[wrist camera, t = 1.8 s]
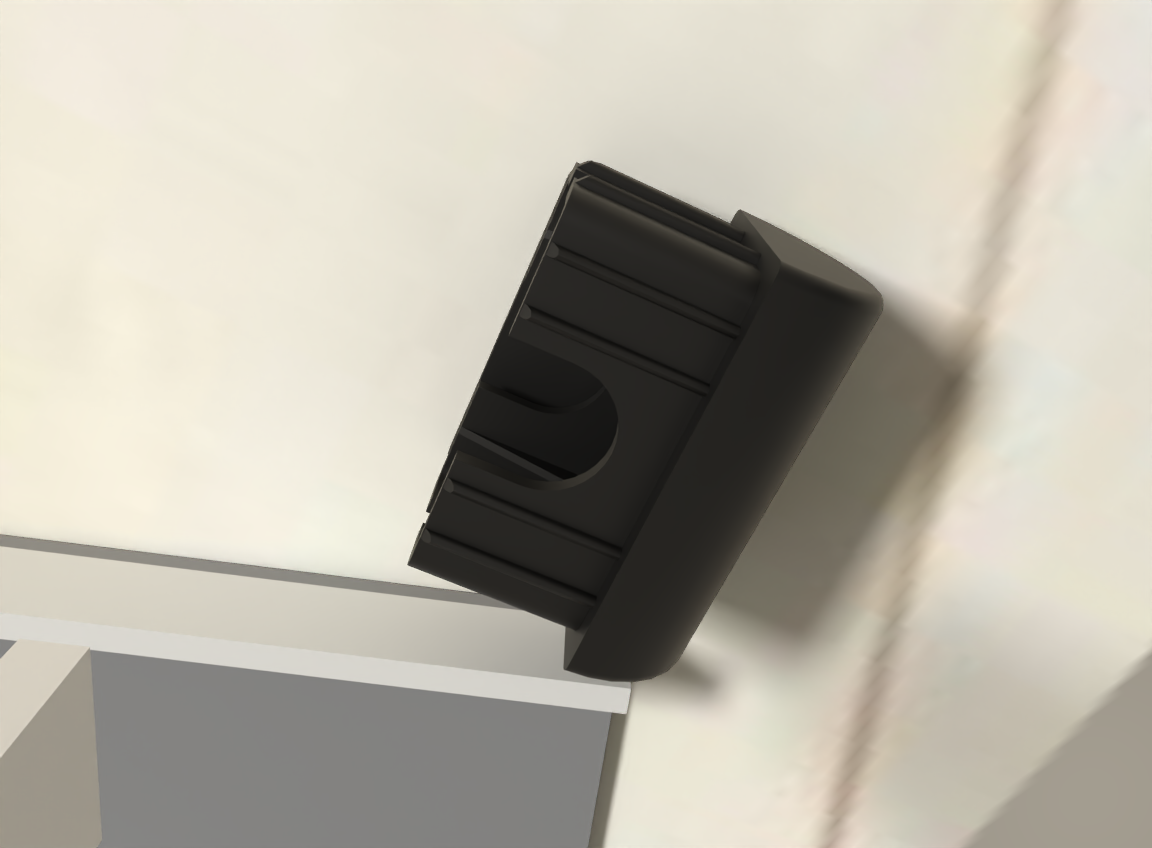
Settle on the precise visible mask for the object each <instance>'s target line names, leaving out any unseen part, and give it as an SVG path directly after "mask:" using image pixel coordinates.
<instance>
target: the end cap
mask: <svg viewBox="0 0 1152 848" xmlns="http://www.w3.org/2000/svg"><path fill="white" fill-rule="evenodd" d="M882 310H883V298H882V295H881V294H880V293H879V291H878V290H877V289H876V288H875V287H874V286H873V285H872V284H871V283H869V282H868V281H867V280H866V279H864V278H863V277H861V276H860V275H858V274H857V273H856V272H854V271H853V270H851V269H850V268H848V267H846V266H845V265H843V264H842V263H840V262H838V261H837V260H835V259H834V258H832V257H830V256H828V255H827V254H825V253H823V252H822V251H820V250H818V249H816V248H815V247H813V246H811V245H809V244H807V243H805V242H804V241H802V240H800V239H798V238H796V237H794V236H792V235H791V234H789V233H787V232H785V231H783V230H781V229H779V228H777V227H775V226H773V225H771V224H769V223H767V222H765V221H763V220H761V219H759V218H757V217H755V216H753V215H751V214H749V213H746V212H744V211H742V210H738V211H737V213H736V214H735V216H734V218H733V219H732V221H731V223H728V222H726V221H724V220H722V219H719V218H717V217H715V216H713V215H711V214H709V213H707V212H704V211H702V210H700V209H698V208H696V207H694V206H691V205H689V204H687V203H685V202H683V201H681V200H679V199H676V198H674V197H672V196H670V195H668V194H666V193H663V192H661V191H659V190H657V189H655V188H653V187H651V186H648V185H646V184H644V183H642V182H640V181H638V180H635V179H633V178H631V177H629V176H627V175H625V174H623V173H620V172H618V171H616V170H614V169H612V168H610V167H607V166H605V165H603V164H601V163H597V162H593V161H586V162H584V163H581V164H579V163H577V162H576V164H575V166H574V168H573V170H572V171H571V172H570V174H569V175H568V177H567V180H566V182H565V184H564V186H563V189H562V191H561V193H560V196H559V198H558V200H557V203H556V205H555V207H554V209H553V212H552V214H551V216H550V219H549V221H548V223H547V225H546V228H545V230H544V232H543V235H542V237H541V239H540V242H539V244H538V246H537V248H536V251H535V253H534V255H533V258H532V260H531V262H530V265H529V267H528V269H527V271H526V274H525V276H524V278H523V281H522V283H521V285H520V287H519V290H518V292H517V294H516V297H515V299H514V301H513V304H512V306H511V308H510V310H509V313H508V315H507V317H506V320H505V322H504V324H503V327H502V329H501V331H500V333H499V336H498V338H497V340H496V343H495V345H494V347H493V349H492V352H491V354H490V356H489V359H488V361H487V363H486V366H485V368H484V370H483V372H482V375H481V377H480V379H479V382H478V384H477V386H476V388H475V391H474V393H473V395H472V398H471V400H470V402H469V405H468V407H467V409H466V411H465V414H464V416H463V418H462V421H461V423H460V425H459V428H458V430H457V432H456V434H455V437H454V439H453V441H452V444H451V446H450V449H449V452H448V456H447V459H446V461H445V463H444V465H443V468H442V470H441V473H440V475H439V477H438V480H437V482H436V485H435V488H434V490H433V493H432V496H431V499H430V501H429V504H428V507H427V510H426V512H428V513H430V514H429V516H428V519H427V521H426V523H423V524H422V527H421V529H420V531H419V533H418V536H417V538H416V541H415V544H414V547H413V550H412V552H411V555H410V558H409V561H408V564H407V565H409V566H411V567H414V568H416V569H419V570H421V571H424V572H427V573H429V574H432V575H434V576H437V577H439V578H442V579H444V580H447V581H450V582H452V583H455V584H457V585H460V586H462V587H465V588H467V589H470V590H473V591H475V592H478V593H480V594H483V595H485V596H488V597H490V598H493V599H496V600H498V601H501V602H503V603H506V604H508V605H511V606H513V607H516V608H519V609H521V610H524V611H526V612H529V613H531V614H534V615H536V616H539V617H542V618H544V619H547V620H549V621H552V622H554V623H557V624H559V625H562V626H565V646H564V665H563V668H564V670H566V671H569V672H572V673H575V674H578V675H582V676H585V677H588V678H593V679H599V680H604V681H610V682H636V681H642V680H648V679H652V678H654V677H656V676H658V675H660V674H662V673H665V672H667V671H668V670H669V669H670V668H671V667H672V666H673V665H674V664H675V663H676V662H677V661H678V660H679V658H680V657H681V655H682V653H683V651H684V650H685V648H686V646H687V645H688V643H689V641H690V639H691V638H692V636H693V634H694V633H695V631H696V629H697V627H698V626H699V624H700V622H701V621H702V619H703V617H704V615H705V614H706V612H707V610H708V609H709V607H710V605H711V603H712V602H713V600H714V598H715V597H716V595H717V593H718V592H719V590H720V588H721V586H722V585H723V583H724V581H725V580H726V578H727V576H728V574H729V573H730V571H731V569H732V568H733V566H734V564H735V562H736V561H737V559H738V557H739V556H740V554H741V552H742V550H743V549H744V547H745V545H746V544H747V542H748V540H749V539H750V537H751V535H752V533H753V532H754V530H755V528H756V527H757V525H758V523H759V521H760V520H761V518H762V516H763V515H764V513H765V511H766V509H767V508H768V506H769V504H770V503H771V501H772V499H773V497H774V496H775V494H776V492H777V491H778V489H779V487H780V485H781V484H782V482H783V480H784V479H785V477H786V475H787V474H788V472H789V470H790V468H791V467H792V465H793V463H794V462H795V460H796V458H797V456H798V455H799V453H800V451H801V450H802V448H803V446H804V444H805V443H806V441H807V439H808V438H809V436H810V434H811V432H812V431H813V429H814V427H815V426H816V424H817V422H818V421H819V419H820V417H821V415H822V414H823V412H824V410H825V409H826V407H827V405H828V403H829V402H830V400H831V398H832V397H833V395H834V393H835V391H836V390H837V388H838V386H839V385H840V383H841V381H842V379H843V378H844V376H845V374H846V373H847V371H848V369H849V367H850V366H851V364H852V362H853V361H854V359H855V357H856V356H857V354H858V352H859V350H860V349H861V347H862V345H863V344H864V342H865V340H866V338H867V337H868V335H869V333H870V332H871V330H872V328H873V326H874V325H875V323H876V321H877V320H878V318H879V316H880V314H881V313H882Z"/></svg>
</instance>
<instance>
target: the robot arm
mask: <svg viewBox="0 0 1152 848" xmlns="http://www.w3.org/2000/svg"><path fill="white" fill-rule="evenodd" d="M101 840H102V830H101V814H100V798H99V782H98V766H97V750H96V734H95V718H94V703H93V687H92V671H91V655H90V647H86V646H77V645H69V644H60V643H51V642H43V641H34V640H26V639H18V640H17V642H16V643H15V644H14V645H13V646H12V647H11V648H10V649H9V650H8V651H7V652H6V653H5V654H4V655H3V657H2V658H1V659H0V848H97V847H98V845H99V844H100V842H101Z"/></svg>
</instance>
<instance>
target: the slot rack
mask: <svg viewBox="0 0 1152 848" xmlns="http://www.w3.org/2000/svg"><path fill="white" fill-rule="evenodd" d="M18 639H26V640H34V641H43V642H51V643H60V644H69V645H77V646H86V647H90V655H91V671H92V687H93V703H94V718H95V734H96V750H97V766H98V782H99V798H100V814H101V830H102V840H101V842H100V844H99V845H98V847H97V848H588V844H589V838H590V833H591V827H592V821H593V816H594V810H595V805H596V799H597V793H598V788H599V782H600V776H601V771H602V765H603V760H604V754H605V748H606V743H607V737H608V731H609V726H610V720H611V714H612V712H613V713H621V714H627V709H628V703H629V698H630V692H631V682H610V681H604V680H599V679H593V678H588V677H585V676H582V675H578V674H575V673H572V672H569V671H566V670H564V668H563V665H564V646H565V626H562V625H559V624H557V623H554V622H552V621H549V620H547V619H544V618H542V617H539V616H536V615H534V614H531V613H529V612H526V611H524V610H521V609H519V608H516V607H513V606H511V605H508V604H506V603H503V602H501V601H498V600H496V599H493V598H490V597H488V596H485V595H483V594H478V593H470V592H462V591H453V590H445V589H437V588H429V587H421V586H413V585H405V584H397V583H389V582H381V581H372V580H364V579H356V578H348V577H340V576H332V575H324V574H316V573H308V572H299V571H291V570H283V569H275V568H267V567H259V566H251V565H243V564H235V563H227V562H218V561H210V560H202V559H194V558H186V557H178V556H170V555H162V554H154V553H146V552H137V551H129V550H121V549H113V548H105V547H97V546H89V545H81V544H73V543H64V542H56V541H48V540H40V539H32V538H24V537H16V536H8V535H0V659H1V658H2V657H3V655H4V654H5V653H6V652H7V651H8V650H9V649H10V648H11V647H12V646H13V645H14V644H15V643H16V642H17V640H18Z"/></svg>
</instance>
